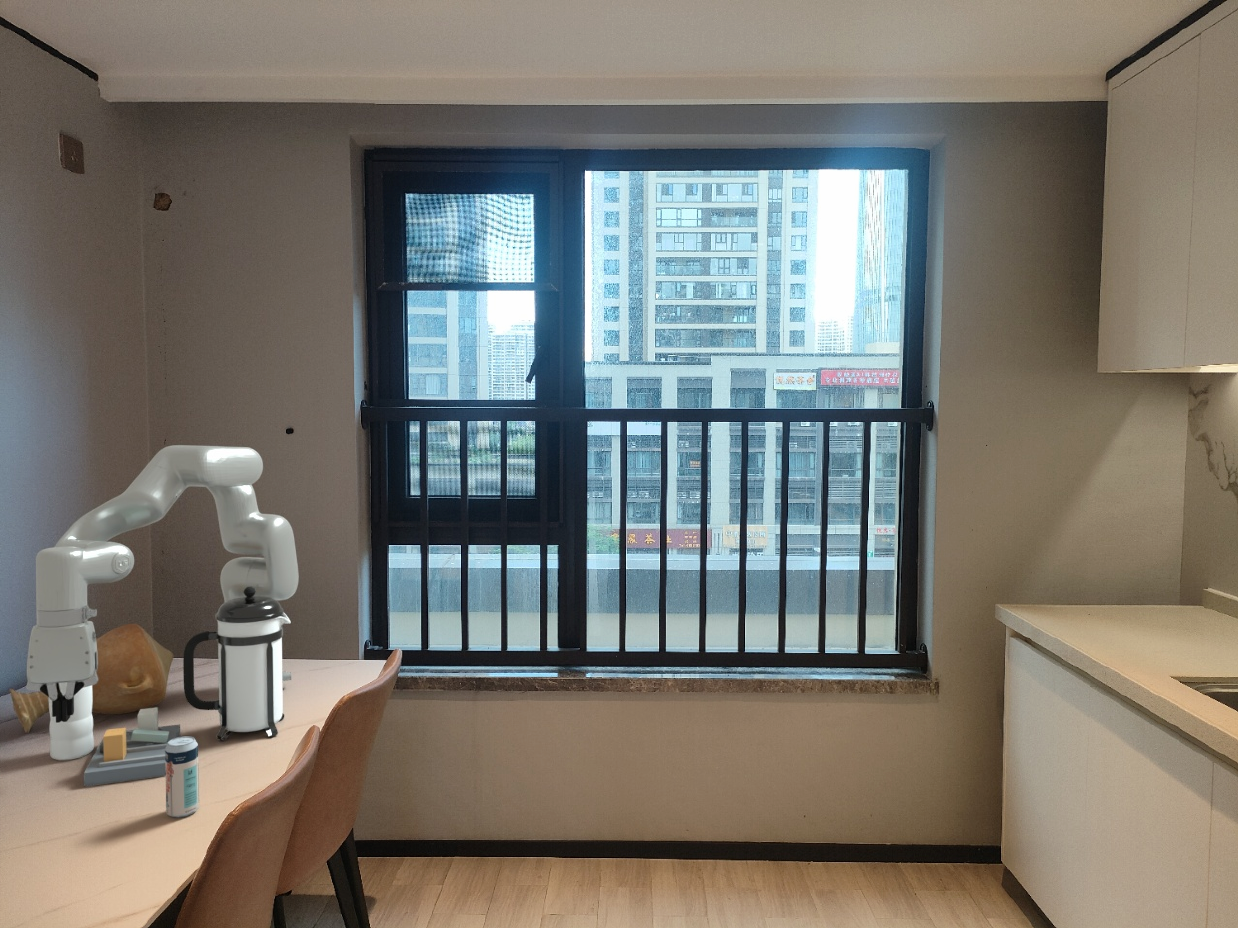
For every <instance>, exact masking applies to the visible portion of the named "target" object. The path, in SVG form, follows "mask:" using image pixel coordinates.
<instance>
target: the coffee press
mask: <svg viewBox="0 0 1238 928" xmlns="http://www.w3.org/2000/svg"><path fill="white" fill-rule="evenodd" d="M255 592H256V591H255V588H253V587H251V586H249V587H246V588H245V590H244V592H243V593H244V594H245V596H247V597H240V598H235V599H232V600H229V601H227V602H225V601H224V602H223V603H222V604H221V605H220V607H219V608H218V609H217V610H218V611H217V612H215V620H216V621H217V631H208V630H207V631H202V632H198V633H197V634H195V635H193V636H192V637H191V638H190V639H189V641H188V642H187V643H186V645H185V646H184V652H183V660H182V661H183V662H182V663H183V666H182V667H183V670H182V671H183V672H182V673H183V674H182V675H183V690H184V691H183V692H184V693H183V694H184V698H185V699H186V702H187V703H188V704H189V705H190V706H191V707H193V709H196V710H201V711H214V710H215V711H217V712H218V714H219V725H220V728H219V731H218V733H217V735H216V740H218V741H222V742H225V741H226V740H228V739H229V736H231V734H233V733H235V732H236V733H249V732H256V731H261V730H263V731H265V733H266V735H267V737H268V738H270V739H271V738H273V737H277V736H278V734H279V730H278V728H277V727H276V724H278V722H279V721H280V722H281V721H283V720H284V719H285V714H284V712H283V707H284V706H283V699H284V698H283V680H282V671H283V636H284V627H283V625H285V624H291V620H290V618H289V617H288V615H287V614H286V613H285V611H284V608H283V607H282V606H281V603H280V602H279V600H275V599H273V598H270V597H264V596H254V595H255ZM210 640H211V641H212V640H216V642H217V651H218V652H217V656H218V659H217V660H218V700H217V699H216V700H202V699H201V698H199V697H198V696H197V694H196V692H195V691H196V690H195V669H194V668H195V667H194V666H195V664H194V660H195V658H194V657H195V656H194V653H195V649H196V647H197V645H198V644H200V643H202V642H206V641H210ZM226 730H227V731H226ZM225 731H226V732H225Z"/></svg>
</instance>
